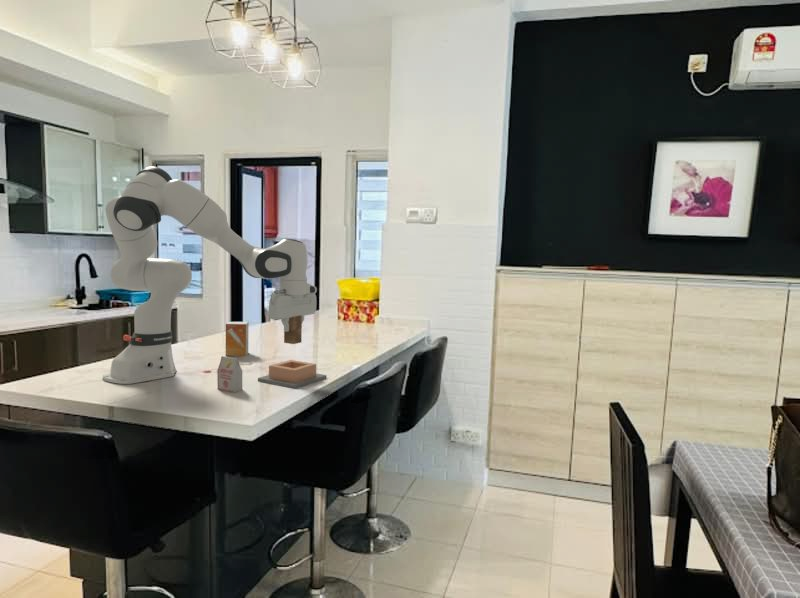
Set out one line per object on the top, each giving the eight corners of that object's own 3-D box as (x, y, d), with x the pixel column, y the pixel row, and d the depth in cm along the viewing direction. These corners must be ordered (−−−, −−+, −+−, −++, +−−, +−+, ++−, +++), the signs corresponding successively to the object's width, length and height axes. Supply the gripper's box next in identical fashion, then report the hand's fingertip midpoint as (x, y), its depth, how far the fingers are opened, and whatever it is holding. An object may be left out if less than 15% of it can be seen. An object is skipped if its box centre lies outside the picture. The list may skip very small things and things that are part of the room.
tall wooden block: (293, 344, 170) (293, 316, 170) (284, 342, 172) (284, 315, 171) (301, 342, 174) (301, 315, 173) (292, 341, 176) (292, 314, 175)
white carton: (226, 386, 164) (226, 355, 163) (242, 389, 161) (242, 358, 160) (217, 389, 161) (217, 357, 160) (233, 392, 158) (233, 360, 157)
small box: (225, 356, 208) (225, 323, 206) (228, 352, 214) (228, 321, 213) (246, 356, 209) (246, 323, 207) (248, 352, 215) (248, 321, 214)
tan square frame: (295, 388, 164) (296, 372, 163) (257, 381, 171) (257, 366, 171) (326, 378, 178) (326, 363, 177) (290, 371, 186) (290, 357, 185)
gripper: (279, 291, 161) (278, 335, 162) (319, 287, 179) (319, 327, 180) (263, 289, 164) (263, 333, 165) (305, 286, 182) (304, 325, 183)
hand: (292, 330), depth 173 cm, fingers closed on tall wooden block, 4 cm apart
